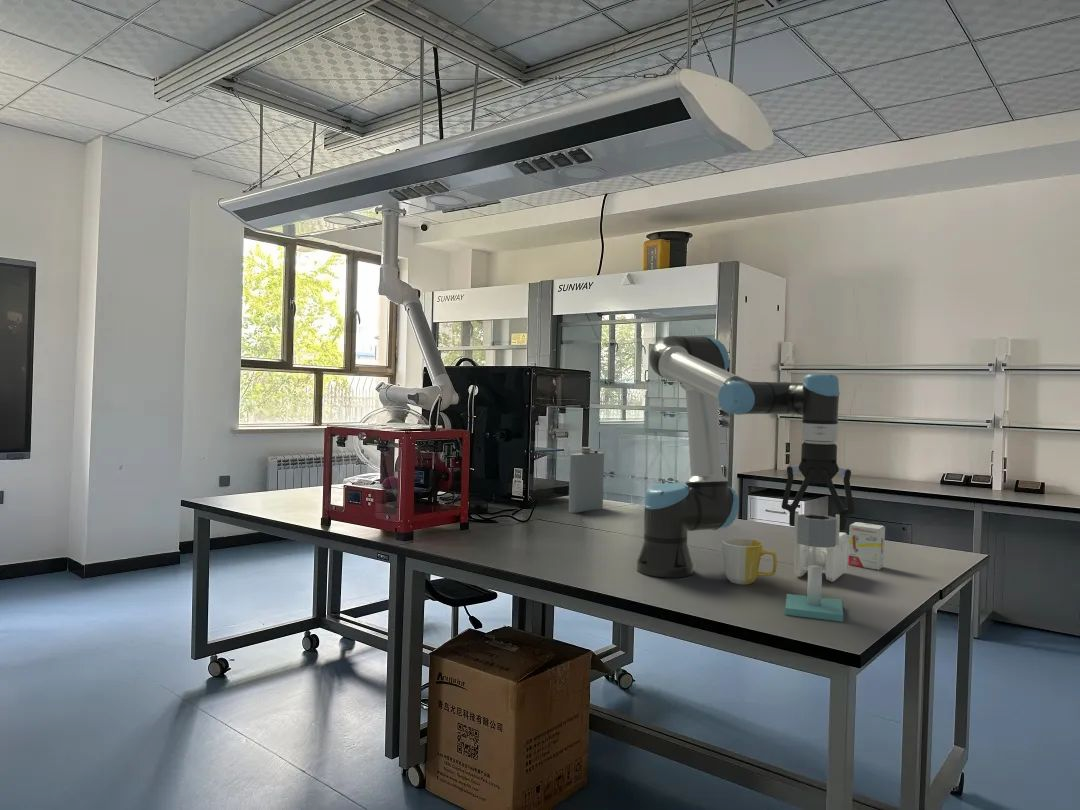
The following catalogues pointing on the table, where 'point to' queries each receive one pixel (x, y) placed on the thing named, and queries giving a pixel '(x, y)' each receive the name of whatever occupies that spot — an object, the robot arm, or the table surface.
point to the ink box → (866, 545)
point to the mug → (744, 559)
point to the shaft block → (814, 600)
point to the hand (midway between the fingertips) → (816, 542)
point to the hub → (816, 530)
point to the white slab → (586, 480)
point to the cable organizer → (822, 558)
